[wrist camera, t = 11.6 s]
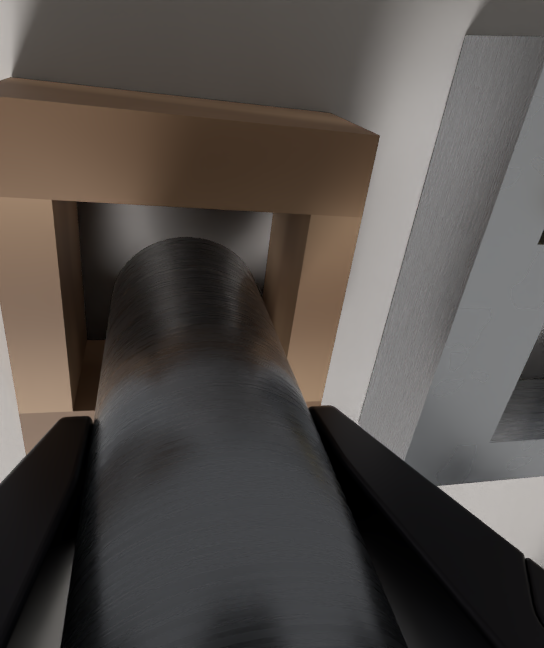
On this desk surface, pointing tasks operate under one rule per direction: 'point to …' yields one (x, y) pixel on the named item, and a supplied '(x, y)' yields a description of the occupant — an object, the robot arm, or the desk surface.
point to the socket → (472, 283)
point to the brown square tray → (173, 191)
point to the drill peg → (211, 479)
